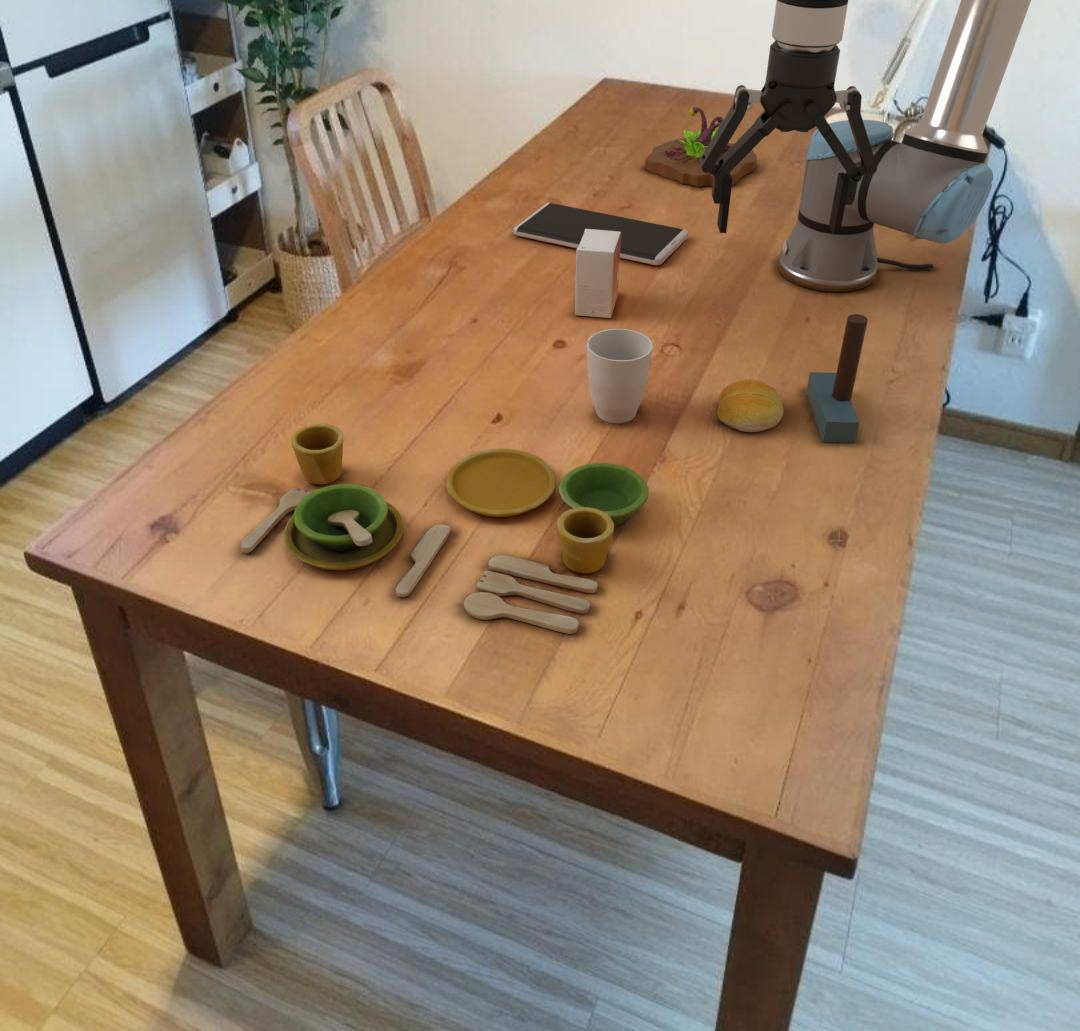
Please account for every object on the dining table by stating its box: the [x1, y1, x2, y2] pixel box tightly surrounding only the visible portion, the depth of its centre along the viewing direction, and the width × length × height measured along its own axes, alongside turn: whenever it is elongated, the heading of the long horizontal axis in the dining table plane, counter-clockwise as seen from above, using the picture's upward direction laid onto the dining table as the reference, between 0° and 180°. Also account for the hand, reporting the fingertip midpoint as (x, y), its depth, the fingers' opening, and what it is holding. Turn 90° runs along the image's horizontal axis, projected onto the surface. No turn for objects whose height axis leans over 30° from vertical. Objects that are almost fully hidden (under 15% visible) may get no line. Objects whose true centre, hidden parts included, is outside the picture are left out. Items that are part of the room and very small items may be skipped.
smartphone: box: [513, 202, 689, 266], centre depth 181 cm, size 13×27×2 cm, turn 63°
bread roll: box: [716, 378, 784, 433], centre depth 137 cm, size 8×9×4 cm
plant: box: [644, 106, 757, 188], centre depth 205 cm, size 20×20×11 cm
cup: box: [586, 328, 653, 424], centre depth 135 cm, size 8×8×10 cm
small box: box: [574, 229, 621, 319], centre depth 159 cm, size 8×6×10 cm
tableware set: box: [241, 423, 650, 635], centre depth 119 cm, size 41×28×6 cm
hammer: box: [806, 313, 869, 444], centre depth 134 cm, size 4×12×14 cm, turn 179°
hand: (777, 229), depth 129 cm, fingers open, 13 cm apart
